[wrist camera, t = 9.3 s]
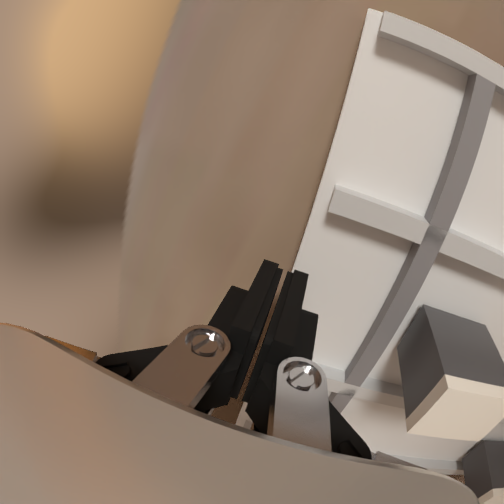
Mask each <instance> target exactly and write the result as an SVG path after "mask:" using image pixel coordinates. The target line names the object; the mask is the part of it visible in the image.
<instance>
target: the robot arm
mask: <svg viewBox="0 0 504 504" xmlns="http://www.w3.org/2000/svg"><path fill="white" fill-rule="evenodd" d="M278 265H279V264H277V263H274V262H271V261H268V260H265V259H264V261H263V263H262V265H261V267H260V269H259V271H258V273H257V275H256V277H255V279H254V281H253V283H252V285H251V287H250V289H249V291H247V290H244V289H241V288H238V287H235V286H231V288H230V289H229V291H228V293H227V294H226V296H225V297H224V299H223V301H222V302H221V304H220V306H219V307H218V309H217V311H216V312H215V314H214V316H213V317H212V319H211V321H210V322H209V324H208V325H194V326H191V327H188V328H187V329H185V330H184V331H183V332H182V333H181V334H180V335H179V336H178V337H177V338H176V339H174V340H173V341H172V342H171V343H170V344H169V345H166V346H160V347H154V348H148V349H142V350H136V351H129V352H123V353H116V354H110V355H107V356H104V357H102V358H101V357H98V356H97V353H96V352H93V351H90V350H87V349H84V348H81V347H77V346H74V345H71V344H68V343H65V342H63V341H60V340H57V339H54V338H51V337H48V336H44V335H42V334H40V333H37V332H35V331H32V330H30V329H27V328H24V327H21V326H16V325H12V324H8V323H0V504H480V503H479V501H478V499H477V497H476V495H475V493H474V492H473V491H472V490H471V489H470V488H469V487H467V486H466V485H464V484H463V483H461V482H459V481H457V480H455V479H453V478H451V477H449V476H446V475H443V474H440V473H437V472H434V471H430V470H428V469H426V468H423V467H420V466H417V465H414V464H412V463H409V462H406V461H403V460H401V459H398V458H395V457H393V456H390V455H387V454H385V453H382V452H380V451H377V452H376V453H373V452H371V451H370V448H369V447H368V445H367V444H366V443H365V441H364V440H363V439H362V438H361V437H360V436H359V435H358V433H357V432H356V431H355V430H354V429H353V428H352V427H351V425H350V424H349V423H348V422H347V421H346V420H345V419H344V417H343V416H342V415H341V414H340V413H339V412H338V410H337V409H336V408H335V407H334V406H333V405H332V403H331V402H330V401H329V400H328V388H327V379H326V375H325V373H324V371H323V370H322V368H321V367H320V366H318V365H317V364H316V363H314V362H313V361H312V358H313V351H314V345H315V338H316V331H317V324H318V314H316V313H313V312H309V311H306V310H303V309H302V305H303V301H304V296H305V291H306V286H307V281H308V276H309V274H307V273H304V272H301V271H298V270H295V269H294V272H293V273H292V272H289V271H288V272H287V275H286V278H285V281H284V284H283V287H282V289H281V292H280V295H279V298H278V301H277V304H276V307H275V310H274V313H273V315H272V318H271V321H270V324H269V327H268V330H267V332H266V335H265V338H264V341H263V344H262V347H261V349H260V352H259V355H258V358H257V361H256V363H255V366H254V369H253V372H252V375H251V377H250V380H249V383H248V385H247V388H246V391H245V394H244V396H243V399H242V401H244V402H247V403H248V404H247V407H246V410H245V412H246V413H247V414H248V416H249V417H250V419H251V420H252V422H253V423H252V425H251V428H250V429H247V428H244V427H241V426H238V425H235V424H232V423H229V422H226V421H224V420H221V419H218V418H215V417H213V416H211V414H212V412H213V410H214V408H217V407H220V406H223V405H228V402H229V400H230V397H233V398H235V399H237V397H238V395H239V392H240V389H241V387H242V384H243V382H244V379H245V376H246V374H247V371H248V369H249V366H250V363H251V361H252V358H253V355H254V353H255V350H256V347H257V345H258V342H259V339H260V336H261V334H262V331H263V328H264V325H265V322H266V319H267V317H268V314H269V311H270V308H271V305H272V302H273V299H274V296H275V293H276V290H277V287H278V284H279V281H280V278H281V275H282V272H283V269H280V268H278Z"/></svg>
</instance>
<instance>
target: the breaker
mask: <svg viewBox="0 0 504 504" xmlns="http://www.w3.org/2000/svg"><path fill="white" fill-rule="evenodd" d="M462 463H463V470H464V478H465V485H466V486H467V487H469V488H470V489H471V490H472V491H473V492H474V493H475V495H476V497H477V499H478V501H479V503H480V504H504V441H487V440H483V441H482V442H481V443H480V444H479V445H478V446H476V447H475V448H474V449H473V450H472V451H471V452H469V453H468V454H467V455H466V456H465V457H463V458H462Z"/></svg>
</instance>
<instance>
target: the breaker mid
mask: <svg viewBox="0 0 504 504" xmlns="http://www.w3.org/2000/svg"><path fill="white" fill-rule="evenodd" d="M397 352H398V359H399V366H400V373H401V380H402V388H403V397H404V406H405V416H406V428H407V433H410V434H417V435H424V436H431V437H439V438H447V439H456V440H467V441H480V440H481V439H482V438H483V437H484V436H486V435H487V434H488V433H489V432H490V431H491V430H492V429H493V428H494V427H495V426H496V425H497V424H498V423H499V422H500V421H501V420H502V419H503V418H504V362H503V360H502V358H501V356H500V354H499V351H498V349H497V347H496V345H495V343H494V341H493V339H492V337H491V335H490V333H489V331H488V329H487V327H486V325H484V324H481V323H478V322H475V321H472V320H469V319H466V318H463V317H460V316H457V315H454V314H451V313H448V312H445V311H442V310H439V309H436V308H433V307H430V306H427V305H424V304H423V305H422V307H421V308H420V310H419V312H418V314H417V315H416V317H415V319H414V320H413V322H412V324H411V325H410V327H409V329H408V330H407V332H406V334H405V335H404V337H403V338H402V340H401V342H400V343H399V345H398V346H397Z"/></svg>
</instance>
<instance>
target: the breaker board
mask: <svg viewBox="0 0 504 504" xmlns="http://www.w3.org/2000/svg"><path fill="white" fill-rule="evenodd" d="M294 269H295V270H298V271H301V272H304V273H307V274H309V276H308V281H307V286H306V291H305V296H304V301H303V305H302V309H303V310H306V311H309V312H313V313H316V314H318V324H317V331H316V338H315V345H314V351H313V358H312V361H313V362H314V363H316V364H317V365H318V366H320V367H321V368H322V370H323V371H324V373H325V375H326V379H327V388H328V400H329V401H330V402H331V403H332V405H333V406H334V407H335V408H336V409H337V410H338V412H339V413H340V414H341V415H342V416H343V417H344V419H345V420H346V421H347V422H348V423H349V424H350V425H351V427H352V428H353V429H354V430H355V431H356V432H357V433H358V435H359V436H360V437H361V438H362V439H363V440H364V441H365V443H366V444H367V445H368V447H369V448H370V451H371V452H373V453H376V452H377V451H380V452H382V453H385V454H387V455H390V456H393V457H395V458H398V459H401V460H403V461H406V462H409V463H412V464H414V465H417V466H420V467H423V468H426V469H428V470H430V471H434V472H437V473H440V474H444V475H464V470H463V463H462V458H463V457H465V456H466V455H467V454H468V453H469V452H471V451H472V450H473V449H474V448H475V447H476V446H478V445H479V444H480V443H481V442H482V441H483V440H487V441H504V418H503V419H502V420H501V421H500V422H499V423H498V424H497V425H496V426H495V427H494V428H493V429H492V430H491V431H490V432H489V433H488V434H487V435H486V436H484V437H483V438H482V439H481V440H480V441H467V440H456V439H447V438H439V437H431V436H424V435H417V434H410V433H407V428H406V416H405V406H404V397H403V388H402V380H401V373H400V366H399V359H398V352H397V346H398V345H399V343H400V342H401V340H402V338H403V337H404V335H405V334H406V332H407V330H408V329H409V327H410V325H411V324H412V322H413V320H414V319H415V317H416V315H417V314H418V312H419V310H420V308H421V307H422V305H423V304H424V305H427V306H430V307H433V308H436V309H439V310H442V311H445V312H448V313H451V314H454V315H457V316H460V317H463V318H466V319H469V320H472V321H475V322H478V323H481V324H484V325H486V327H487V329H488V331H489V333H490V335H491V337H492V339H493V341H494V343H495V345H496V347H497V349H498V351H499V354H500V356H501V358H502V360H503V362H504V67H502V66H501V65H499V64H498V63H496V62H494V61H493V60H491V59H489V58H488V57H486V56H484V55H482V54H481V53H479V52H477V51H475V50H473V49H472V48H470V47H468V46H466V45H464V44H462V43H460V42H458V41H456V40H454V39H452V38H450V37H448V36H446V35H444V34H442V33H440V32H437V31H435V30H433V29H431V28H428V27H426V26H424V25H421V24H419V23H417V22H414V21H412V20H409V19H407V18H404V17H401V16H399V15H396V14H393V13H390V12H387V11H384V13H382V12H379V11H376V10H373V9H370V8H368V11H367V15H366V18H365V22H364V26H363V30H362V34H361V38H360V42H359V46H358V50H357V54H356V58H355V62H354V66H353V69H352V73H351V77H350V81H349V84H348V88H347V92H346V95H345V99H344V103H343V106H342V110H341V113H340V117H339V121H338V124H337V128H336V131H335V135H334V138H333V141H332V145H331V148H330V152H329V155H328V158H327V162H326V165H325V168H324V172H323V175H322V178H321V181H320V185H319V188H318V191H317V194H316V198H315V201H314V204H313V207H312V210H311V213H310V216H309V220H308V223H307V226H306V229H305V232H304V235H303V238H302V241H301V244H300V247H299V250H298V253H297V256H296V259H295V262H294V265H293V268H292V271H291V272H292V273H293V272H294ZM247 404H248V403H247V402H244V403H243V405H242V408H241V410H240V413H239V416H238V418H237V421H236V424H235V425H238V426H241V427H244V428H247V429H250V428H251V425H252V423H253V422H252V420H251V419H250V417H249V416H248V414H247V413H246V412H245V410H246V407H247Z"/></svg>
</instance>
